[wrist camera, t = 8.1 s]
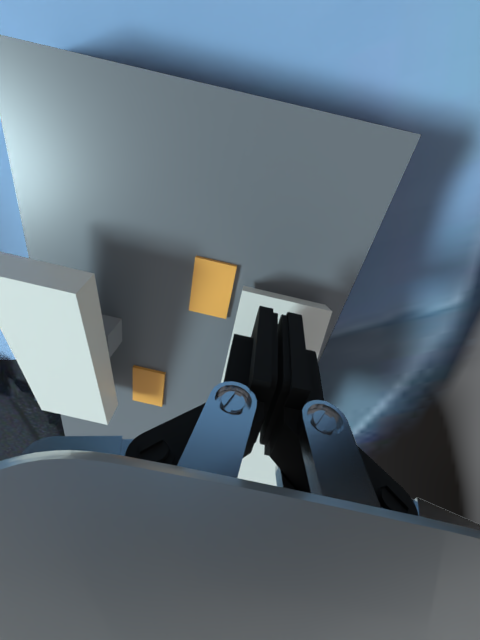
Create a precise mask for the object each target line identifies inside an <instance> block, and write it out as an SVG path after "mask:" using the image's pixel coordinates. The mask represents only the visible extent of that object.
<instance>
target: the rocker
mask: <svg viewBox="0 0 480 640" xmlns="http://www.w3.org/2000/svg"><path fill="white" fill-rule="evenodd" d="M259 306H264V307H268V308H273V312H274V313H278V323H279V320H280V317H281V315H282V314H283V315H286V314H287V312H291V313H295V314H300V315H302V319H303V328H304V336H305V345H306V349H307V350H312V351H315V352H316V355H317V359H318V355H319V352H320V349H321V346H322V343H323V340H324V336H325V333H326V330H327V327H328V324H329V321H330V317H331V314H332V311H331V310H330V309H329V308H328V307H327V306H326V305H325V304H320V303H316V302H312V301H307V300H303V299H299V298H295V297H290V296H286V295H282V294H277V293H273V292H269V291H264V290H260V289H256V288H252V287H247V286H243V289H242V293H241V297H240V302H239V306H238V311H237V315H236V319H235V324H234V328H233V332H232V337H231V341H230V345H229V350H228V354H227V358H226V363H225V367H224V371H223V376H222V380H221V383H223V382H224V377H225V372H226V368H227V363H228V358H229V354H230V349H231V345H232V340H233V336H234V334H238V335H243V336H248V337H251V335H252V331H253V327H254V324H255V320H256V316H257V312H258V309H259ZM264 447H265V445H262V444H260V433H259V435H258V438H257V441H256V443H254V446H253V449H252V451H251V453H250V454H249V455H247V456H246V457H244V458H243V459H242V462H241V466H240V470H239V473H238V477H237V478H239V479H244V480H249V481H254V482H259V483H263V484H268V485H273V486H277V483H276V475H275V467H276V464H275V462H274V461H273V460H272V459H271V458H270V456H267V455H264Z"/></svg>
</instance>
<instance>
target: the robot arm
mask: <svg viewBox="0 0 480 640" xmlns="http://www.w3.org/2000/svg"><path fill="white" fill-rule="evenodd" d="M259 433H260V444H262V445H265V447H264V455H267V456H270V458H271V459H272V460H273V461H274V462H275V464H276V467H275V475H276V483H277V486H273V485H268V484H263V483H259V482H254V481H249V480H244V479H239V478H237V477H238V473H239V470H240V466H241V462H242V459H243V458H244V457H246V456H247V455H249V454H250V453H251V451H252V449H253V446H254V443H256V441H257V438H258V435H259ZM0 640H480V524H477V523H475V522H473V521H471V520H468V519H466V518H463V517H461V516H459V515H457V514H454V513H452V512H450V511H447V510H445V509H443V508H440V507H438V506H436V505H433V504H431V503H429V502H427V501H424V500H422V499H420V498H416V499H415V500H413V499H411V497H410V496H409V494H408V493H407V492H406V491H405V490H404V489H403V488H402V487H401V486H400V485H399V484H398V483H397V482H396V481H394V480H393V479H392V478H391V477H390V476H389V475H388V474H387V473H386V472H385V471H384V470H383V469H382V468H381V467H379V466H378V465H377V464H376V463H375V462H374V461H373V460H372V459H371V458H370V457H369V456H368V455H367V454H366V453H364V452H363V451H362V450H361V449H360V448H359V447H358V446H357V444H356V441H355V439H354V436H353V434H352V431H351V428H350V426H349V423H348V421H347V419H346V417H345V415H344V414H343V413H342V412H341V411H340V410H339V409H338V408H337V407H336V406H334V405H333V404H331V403H328V402H326V401H324V398H323V392H322V386H321V379H320V373H319V367H318V361H317V355H316V352H315V351H312V350H307V349H306V345H305V336H304V328H303V319H302V315H300V314H295V313H291V312H287V314H286V315H283V314H282V315H281V317H280V320H279V323H278V313H274V312H273V308H268V307H264V306H259V309H258V312H257V316H256V320H255V324H254V327H253V331H252V335H251V337H248V336H243V335H238V334H234V336H233V340H232V345H231V349H230V354H229V358H228V363H227V368H226V372H225V377H224V382H223V383H219V384H218V385H216V386H215V387H214V388H213V390H212V391H211V393H210V395H209V397H208V399H207V401H206V403H204V404H202V405H200V406H198V407H196V408H194V409H191V410H189V411H187V412H185V413H183V414H181V415H179V416H177V417H175V418H173V419H171V420H169V421H167V422H165V423H163V424H160V425H158V426H156V427H154V428H152V429H150V430H148V431H146V432H144V433H142V434H140V435H139V436H137V437H136V438H134V439H123V436H52V437H46V438H42V439H40V440H37V441H35V442H33V443H32V444H30V445H29V446H28V447H27V448H25V449H24V450H23V452H22V453H21V455H20V456H16V457H12V458H8V459H5V460H1V461H0Z"/></svg>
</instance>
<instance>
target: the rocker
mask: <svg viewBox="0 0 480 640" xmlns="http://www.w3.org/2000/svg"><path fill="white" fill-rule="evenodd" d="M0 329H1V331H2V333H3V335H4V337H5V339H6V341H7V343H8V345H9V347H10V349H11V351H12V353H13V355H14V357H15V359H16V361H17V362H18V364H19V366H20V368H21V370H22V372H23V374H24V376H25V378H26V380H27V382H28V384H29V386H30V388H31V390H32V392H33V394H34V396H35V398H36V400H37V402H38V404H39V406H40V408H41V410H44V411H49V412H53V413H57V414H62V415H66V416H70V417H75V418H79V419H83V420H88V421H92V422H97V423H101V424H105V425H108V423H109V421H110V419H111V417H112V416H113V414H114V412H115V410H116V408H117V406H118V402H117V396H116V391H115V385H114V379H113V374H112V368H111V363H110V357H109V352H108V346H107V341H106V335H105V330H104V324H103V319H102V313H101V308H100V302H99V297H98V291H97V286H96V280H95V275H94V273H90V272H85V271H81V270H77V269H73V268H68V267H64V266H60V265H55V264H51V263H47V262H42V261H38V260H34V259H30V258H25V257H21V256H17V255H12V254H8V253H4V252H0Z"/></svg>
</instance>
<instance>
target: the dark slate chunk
mask: <svg viewBox="0 0 480 640" xmlns="http://www.w3.org/2000/svg"><path fill="white" fill-rule="evenodd" d="M52 436H65V434H64V429H63V424H62V419H61V414H57V413H53V412H49V411H44V410H41V408H40V406H39V404H38V402H37V400H36V398H35V396H34V394H33V392H32V390H31V388H30V386H29V384H28V382H27V380H26V378H25V376H24V374H23V372H22V370H21V368H20V366H19V364H18V362H17V361H16V360H0V461H1V460H5V459H8V458H12V457H16V456H20V455H21V453H22V452H23V450H24V449H25V448H27V447H28V446H29V445H30V444H32V443H33V442H35V441H37V440H40V439H42V438H46V437H52Z"/></svg>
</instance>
